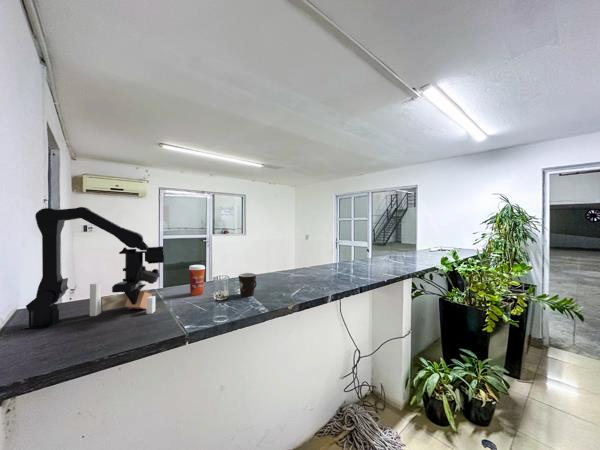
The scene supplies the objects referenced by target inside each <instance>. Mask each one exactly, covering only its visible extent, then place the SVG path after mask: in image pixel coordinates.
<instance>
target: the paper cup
mask: <svg viewBox="0 0 600 450" xmlns="http://www.w3.org/2000/svg"><path fill="white" fill-rule="evenodd" d="M205 270H206V266H205V265H204V264H193V265H192V264H191V265H189V268H188V272H189V291H190V292H189V293H190V296H200V295H203V293H204V284H205V283H204V281H205V280H204V279H205Z"/></svg>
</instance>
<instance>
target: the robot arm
mask: <svg viewBox="0 0 600 450" xmlns="http://www.w3.org/2000/svg"><path fill="white" fill-rule="evenodd" d="M34 216H35V217H34V218H35V221H36V226H37V228H38V230H39V232H40V233H41V244H42V245H41V246H42V248H41V251H42V252H41V253H42V255H41V256H42V257H41V258H42V259H41V260H42V269H41V271H42V276H41V279H40V282H39V284H38V288H37V290H36V295H35V298H34V299H33V300H31V301H30V302H28V304H26V305H25V308H26V309H27V312H28V325H26V326H24V327H23V329H24V330H28V329H30V330H31V329H47V328H49V327H51V326H53V325H55V324H57V323H59V322H61V321H62V318H60V310H59V305H58V304H56V303H58V302H59V300H60V299H61V298H63V296H64V295H66V292H67V290H68V289H69V286H68V283H69V282H68V281H69V278H68V277H66V278H63V276H62V274H61V233H62V230H63V229H64V227H65V221H72V220H78V219H82V220H84V221H85V222H87V223H89V224H92V225H94V226H96V227H97V228H99V229H101V230H102V231H105V232H107V233H109V234H110V235H112V236H114V237H115V238H117V239H118V240H119V241H120V242H121V243H123V244H124V245H125V246H126V247H125V246H124V247H123V249H122V250H121V251H119V252H118V254H119V255H125V258H124V259H125V262H124V264H125V267H124V268H122V272H124V275H125V277H124V278H123V279H122V281H120V282H117V283H115V284H114V285H112V287H111V292H112V293H123V294H124V293H125V294H126V295H127V297H128V298H129V300H130V302H131V303H132V305H135V304H136V302H137V299H138V296H139V293H140V290H143V288H144V287H146V283H148V284H151V285H153V284H154V283H156V282H157V281H158V279H159V278H160V271H159V269H157V268H154V269H152V270H147V267H146V266H145V265H144V262H146V263H147V264H149V265H150V264H164V263H165V253H164V246H161V245H160V246H149V245H148V244H146V242H145V241H144V237H143V235H142V234H141V233H139V232H137V231H133V230H131V229H128V228H124V227H122V226H120V225H118V224H116V223H114V222H113V221H111V220H109V219H107V218H105V217H103V216H101V215H99V214H98V213H96V212H95V211H92V210H91V209H90V208H88V207H86V206H85V207H84V206H79V207H74V208H61V209H58V208H51V207H45V208H41V209H40V210H38V211H37V212H36V213H35V215H34ZM127 247H128V248H127ZM137 249H138V250H137ZM143 282H145V284H143Z"/></svg>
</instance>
